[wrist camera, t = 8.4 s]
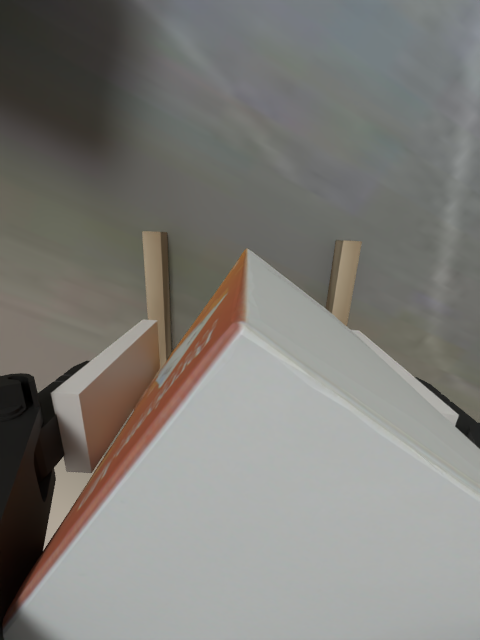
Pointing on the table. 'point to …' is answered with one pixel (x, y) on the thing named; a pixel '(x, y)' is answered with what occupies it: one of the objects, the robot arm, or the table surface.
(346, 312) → the keeper seat
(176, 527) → the small box
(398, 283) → the table surface
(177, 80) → the table surface
